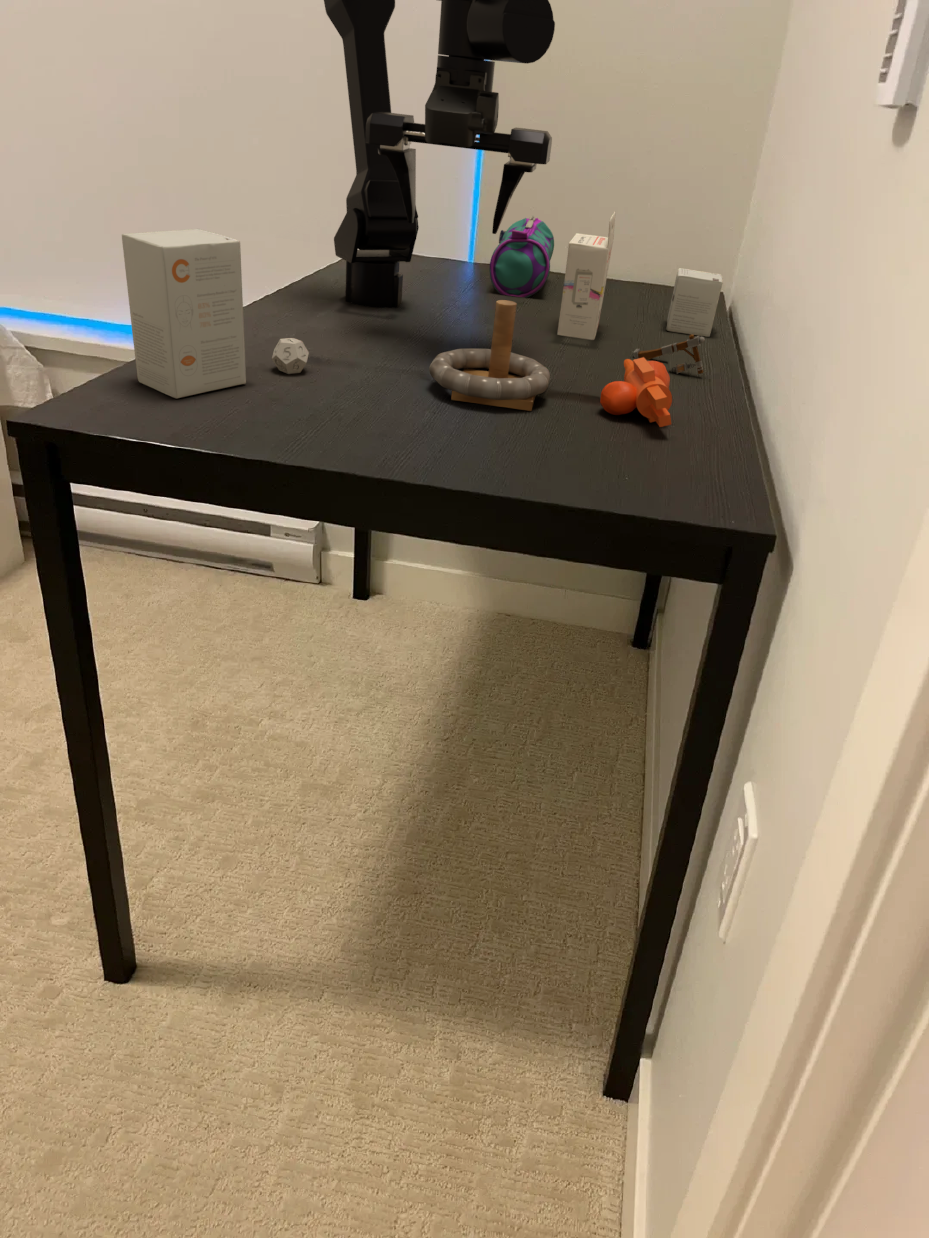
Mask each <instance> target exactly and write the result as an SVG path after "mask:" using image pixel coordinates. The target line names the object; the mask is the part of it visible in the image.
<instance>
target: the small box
mask: <svg viewBox="0 0 929 1238" xmlns="http://www.w3.org/2000/svg"><path fill="white" fill-rule="evenodd" d="M121 242H122V252H123V259H124V269H125V278H126V286H127V287H126V289H127V295H128V297H127V298H128V305H129V314H130V324H131V334H132V342H133V350H134V351H133V352H134V358H135V368H136V376H137V380H138V383H140V384H143V385H144V386H147V387H149V388H151V389H153V390H156V391H158V392H160V393H162V394H165V395H167V396H169V397H170V398H173V399H180V398H185V397H189V396H193V395H194V396H195V395H198V394H202V393H207V392H213V391H217V390H221V389H225V388H230V387H235V386H240V385H245V384H247V372H246V371H247V370H246V349H245V348H246V346H245V345H246V344H245V324H244V322H245V321H244V304H243V303H244V302H243V298H244V297H243V280H242V279H243V277H242V275H243V273H242V255H241V251H242V250H241V241H240V240H238V239H235V238H234V237H230V236H227V235H224V234H221V233H217V232H212V231H209V230H205V229H200V228H191V229H174V230H162V231H161V230H160V231H148V232H147V231H146V232H133V233H122V234H121Z"/></svg>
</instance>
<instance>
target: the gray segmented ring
mask: <svg viewBox="0 0 929 1238" xmlns="http://www.w3.org/2000/svg"><path fill="white" fill-rule="evenodd" d="M490 354H491V348H457V349H452V350H448V351H444V352H440V353H439V354H437V355H436V356H435V357H434V358H433V360H432V362H430V365H429V368H428V372H429V375H430V376H431V378H432V379H433V380H434V381H436V382H437V383H438V385H440V386H441V387H442V388H444V389H447V390H450V391H451V392H452V391H455V392H458V393H461V394H464V395H467V396H472V397H479V398H486V399H494V400H511V399H526V398H529V397H532V396H535V395H536V396H537V395H542V394H544V393H545V392H546V391H547V389H548V387H549V383H550V381H551V373H550V370H549V369H548V368H547V367H546V366H544V365H543V364H542V363H540V362H538V361H537V360H536V359H534V358H531V357H528V356H525V355H521V354H518V353H515V352H512V351H511V356H510V364H509V372H508V373H510V374H512V375H517V376H522V377H523V378H492V377H485V376H477V375H471V374H468V373H465V372H463V370H464V369H484V370H485V369H486V370H489V363H490Z"/></svg>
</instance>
